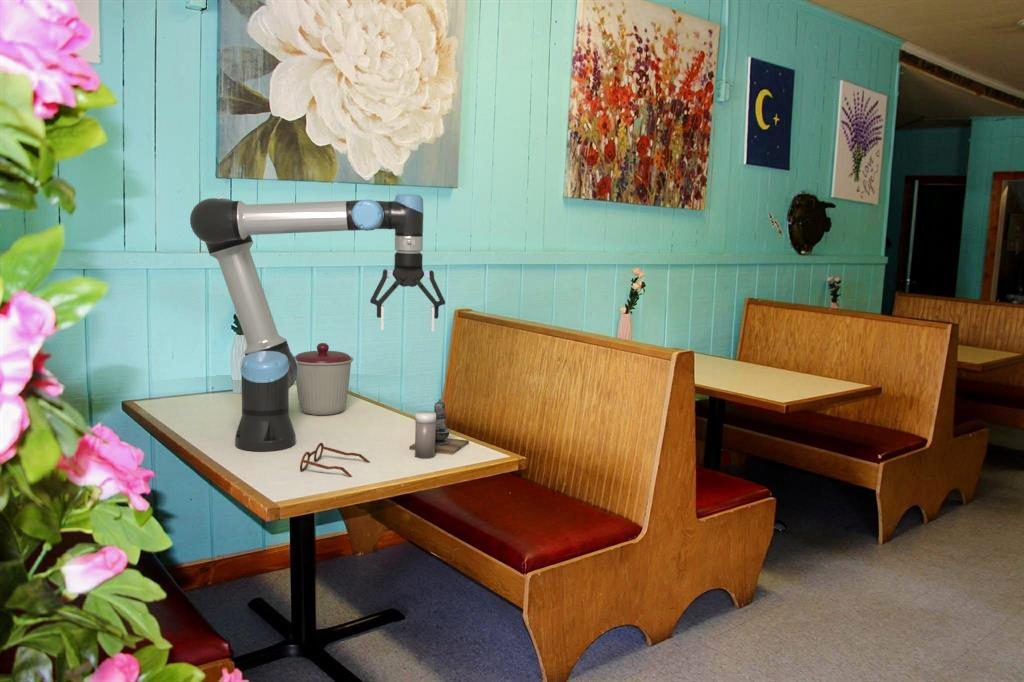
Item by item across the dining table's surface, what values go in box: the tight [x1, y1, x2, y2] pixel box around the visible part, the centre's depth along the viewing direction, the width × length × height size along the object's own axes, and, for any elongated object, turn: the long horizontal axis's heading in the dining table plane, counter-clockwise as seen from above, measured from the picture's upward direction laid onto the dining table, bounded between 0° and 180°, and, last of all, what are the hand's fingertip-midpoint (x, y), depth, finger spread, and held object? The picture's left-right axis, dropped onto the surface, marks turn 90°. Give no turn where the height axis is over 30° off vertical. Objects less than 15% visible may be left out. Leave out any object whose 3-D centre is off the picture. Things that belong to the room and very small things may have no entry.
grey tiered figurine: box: [433, 398, 452, 446], centre depth 233 cm, size 6×6×12 cm
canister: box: [294, 342, 354, 416], centre depth 267 cm, size 18×18×21 cm
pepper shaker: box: [414, 410, 436, 460], centre depth 223 cm, size 5×5×11 cm
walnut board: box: [408, 437, 470, 455], centre depth 233 cm, size 12×12×1 cm
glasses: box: [299, 442, 371, 478], centre depth 211 cm, size 13×13×5 cm
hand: (407, 330), depth 243 cm, fingers open, 13 cm apart
